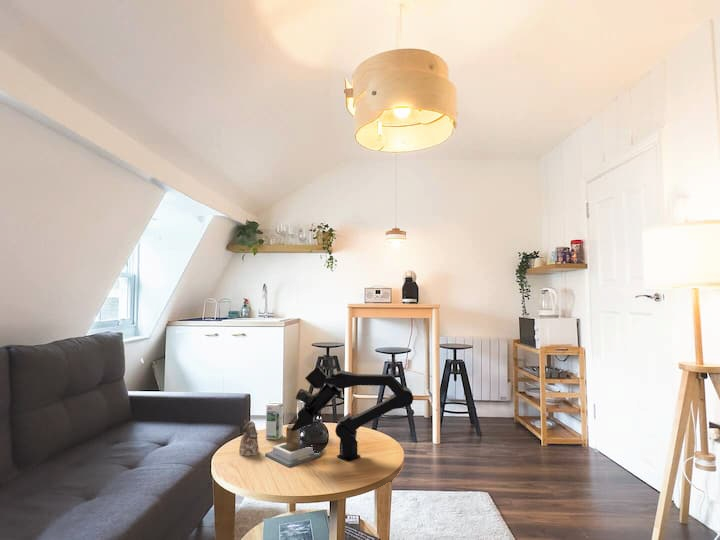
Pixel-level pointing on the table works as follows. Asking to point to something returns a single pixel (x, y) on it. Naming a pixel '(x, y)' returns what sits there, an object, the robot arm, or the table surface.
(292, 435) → the walnut peg block
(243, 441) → the figurine
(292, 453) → the socket board
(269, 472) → the table surface
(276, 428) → the syrup box
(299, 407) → the beer glass
